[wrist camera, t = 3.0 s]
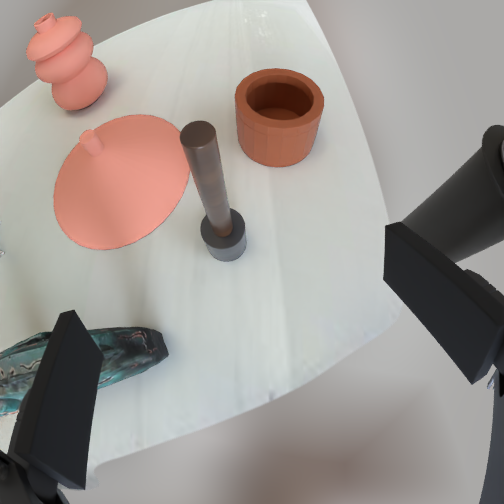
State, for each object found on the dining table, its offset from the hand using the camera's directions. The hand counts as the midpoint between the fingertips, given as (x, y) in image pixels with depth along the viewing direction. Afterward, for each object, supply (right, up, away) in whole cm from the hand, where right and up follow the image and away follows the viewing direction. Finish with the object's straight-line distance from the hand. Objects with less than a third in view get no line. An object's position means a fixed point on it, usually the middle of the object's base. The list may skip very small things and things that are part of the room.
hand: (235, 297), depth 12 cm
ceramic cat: (-17, -12, +19) cm, 29 cm away
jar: (+4, +17, +27) cm, 32 cm away
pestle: (-2, +3, +23) cm, 23 cm away
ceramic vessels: (-21, +18, +28) cm, 39 cm away
